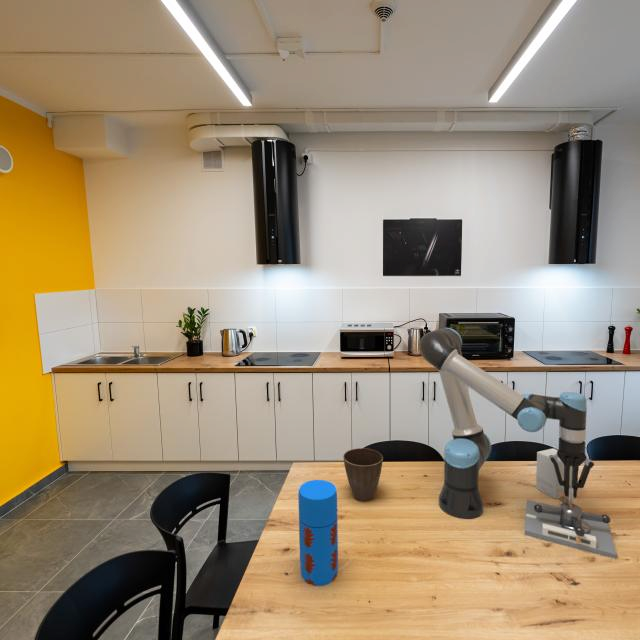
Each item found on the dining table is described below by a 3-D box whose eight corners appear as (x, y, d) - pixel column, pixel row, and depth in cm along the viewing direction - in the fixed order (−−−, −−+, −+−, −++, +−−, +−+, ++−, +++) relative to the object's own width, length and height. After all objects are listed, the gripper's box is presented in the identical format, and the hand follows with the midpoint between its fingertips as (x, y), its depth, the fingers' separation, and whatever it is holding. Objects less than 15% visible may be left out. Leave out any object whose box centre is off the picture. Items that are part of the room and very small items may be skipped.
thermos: (325, 592, 106) (323, 504, 103) (292, 576, 111) (290, 493, 109) (344, 566, 115) (343, 485, 112) (313, 553, 120) (312, 476, 118)
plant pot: (338, 503, 147) (338, 462, 146) (350, 483, 161) (349, 445, 159) (378, 510, 142) (378, 468, 140) (386, 489, 156) (386, 451, 154)
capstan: (539, 540, 122) (540, 520, 121) (527, 502, 142) (528, 485, 142) (623, 554, 115) (624, 533, 115) (597, 512, 136) (599, 494, 135)
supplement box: (573, 494, 150) (575, 457, 148) (555, 499, 147) (557, 461, 145) (551, 483, 158) (553, 447, 157) (534, 487, 155) (536, 451, 154)
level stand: (524, 535, 127) (524, 524, 127) (526, 503, 145) (526, 493, 144) (616, 560, 115) (617, 548, 115) (606, 521, 133) (607, 511, 133)
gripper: (591, 436, 133) (588, 502, 136) (548, 432, 138) (546, 496, 140) (597, 445, 126) (595, 515, 129) (552, 441, 131) (550, 508, 133)
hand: (569, 505), depth 135 cm, fingers closed
